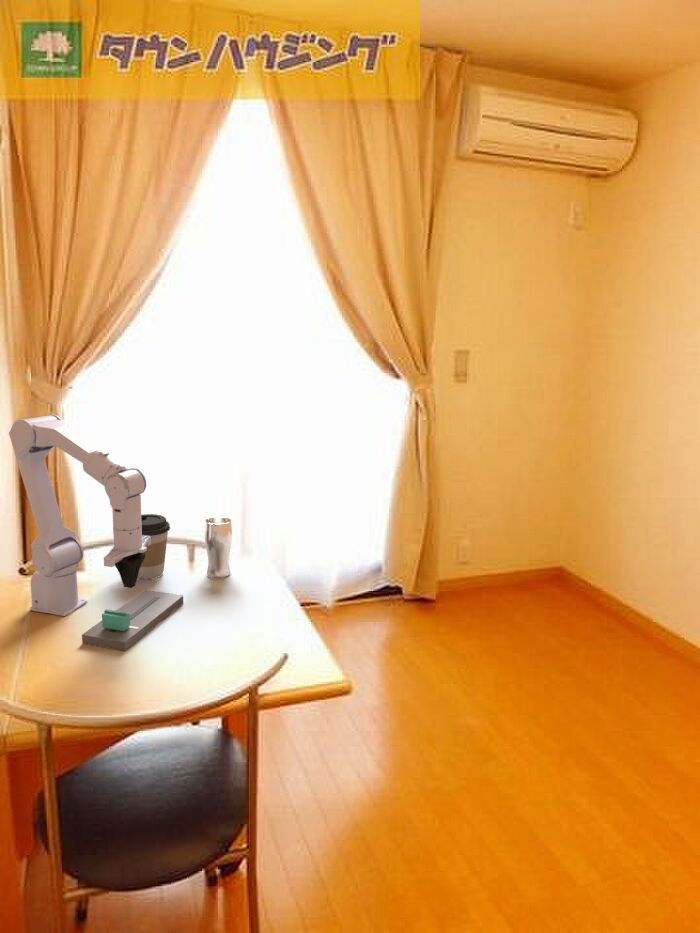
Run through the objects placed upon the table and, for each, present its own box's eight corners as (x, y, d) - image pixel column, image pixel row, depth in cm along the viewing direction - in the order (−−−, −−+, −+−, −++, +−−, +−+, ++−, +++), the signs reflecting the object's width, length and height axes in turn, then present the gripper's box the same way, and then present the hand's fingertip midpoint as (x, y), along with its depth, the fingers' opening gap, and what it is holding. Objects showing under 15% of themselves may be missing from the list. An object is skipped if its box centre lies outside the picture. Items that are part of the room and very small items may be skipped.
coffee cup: (142, 563, 179) (141, 510, 175) (179, 569, 176) (178, 515, 172) (116, 578, 168) (114, 522, 165) (155, 585, 165) (153, 528, 161)
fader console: (82, 643, 135) (81, 634, 135) (145, 597, 158) (145, 589, 157) (125, 651, 133) (124, 641, 132) (183, 603, 155) (183, 595, 155)
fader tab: (102, 627, 137) (101, 612, 136) (109, 622, 139) (108, 607, 139) (123, 631, 136) (123, 615, 135) (130, 625, 138) (129, 611, 138)
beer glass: (210, 568, 177) (210, 515, 174) (235, 570, 176) (235, 517, 173) (201, 578, 170) (200, 523, 167) (227, 580, 170) (226, 525, 166)
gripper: (124, 539, 130) (126, 602, 134) (162, 518, 144) (163, 576, 147) (93, 535, 132) (96, 597, 135) (133, 515, 146) (135, 572, 149)
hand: (129, 586), depth 141 cm, fingers closed
